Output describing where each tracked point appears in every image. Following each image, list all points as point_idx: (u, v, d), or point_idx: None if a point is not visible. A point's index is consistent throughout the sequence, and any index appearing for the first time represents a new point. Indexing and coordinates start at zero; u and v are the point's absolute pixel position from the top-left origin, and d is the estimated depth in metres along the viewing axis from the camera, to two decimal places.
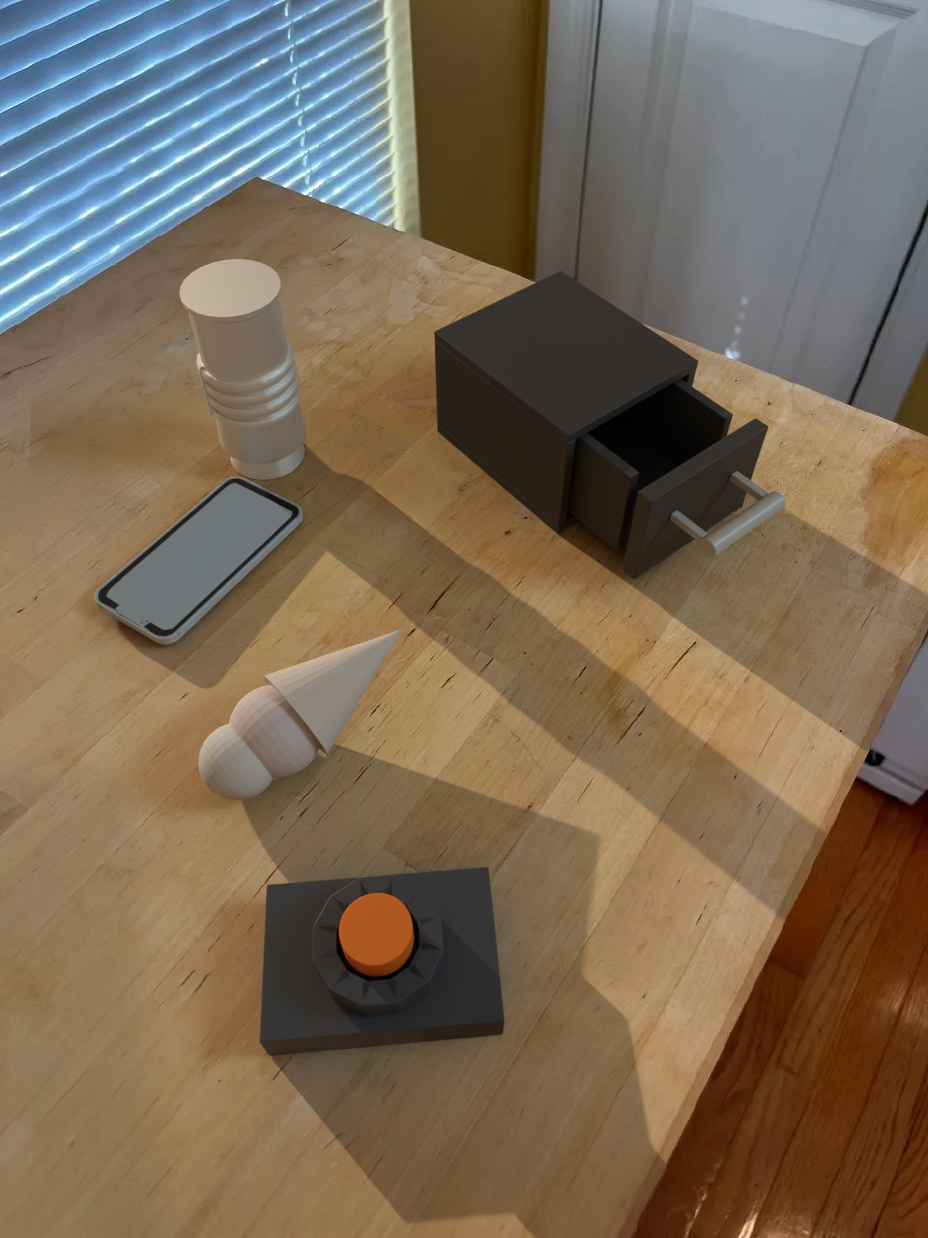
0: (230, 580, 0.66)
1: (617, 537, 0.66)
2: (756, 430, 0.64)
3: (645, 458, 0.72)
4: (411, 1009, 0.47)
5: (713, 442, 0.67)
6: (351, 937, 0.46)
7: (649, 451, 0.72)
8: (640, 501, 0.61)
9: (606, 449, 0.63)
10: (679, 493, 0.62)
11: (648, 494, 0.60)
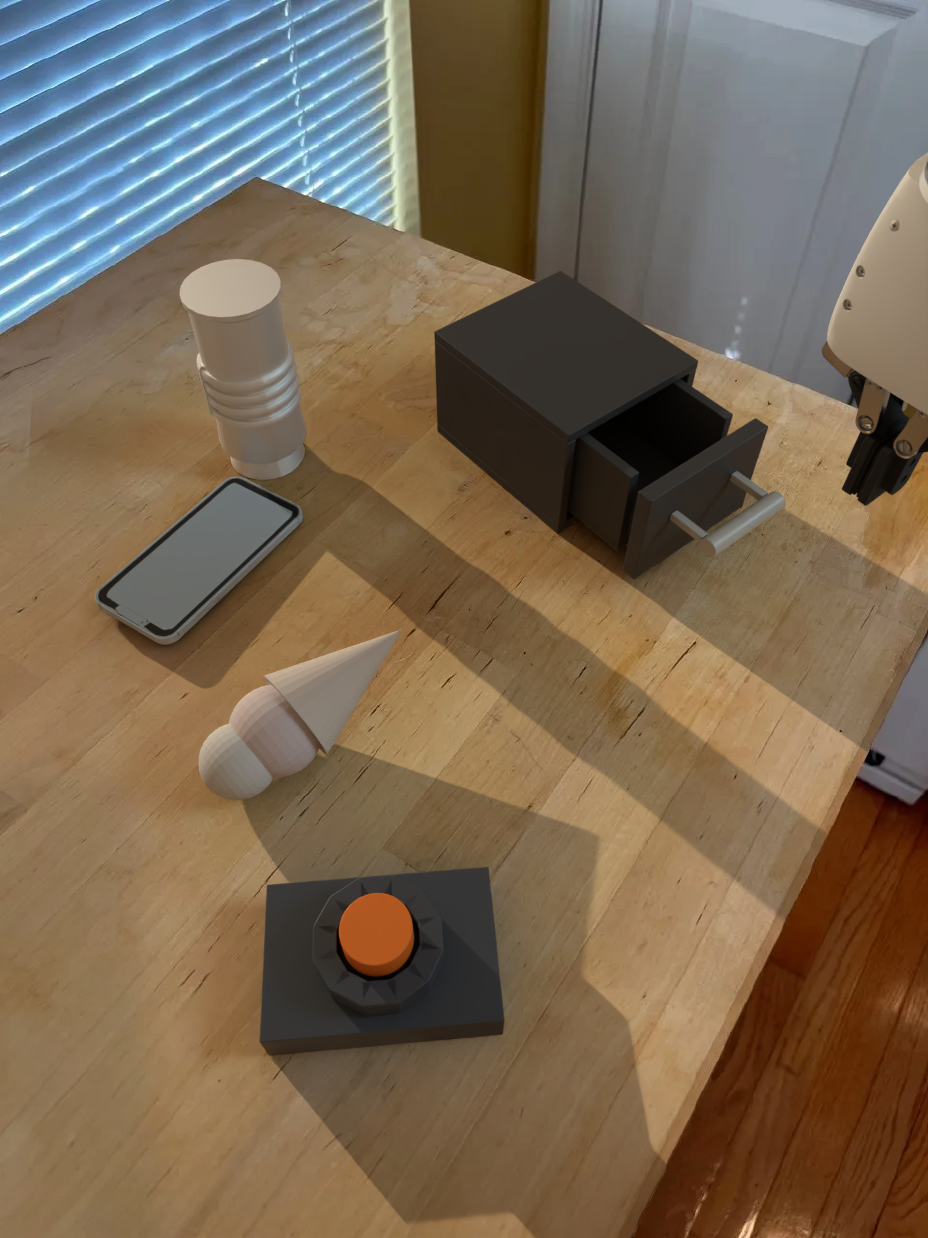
0: (230, 580, 0.66)
1: (617, 537, 0.66)
2: (756, 430, 0.64)
3: (645, 458, 0.72)
4: (411, 1009, 0.47)
5: (713, 442, 0.67)
6: (351, 937, 0.46)
7: (649, 451, 0.72)
8: (640, 501, 0.61)
9: (606, 449, 0.63)
10: (679, 493, 0.62)
11: (648, 494, 0.60)
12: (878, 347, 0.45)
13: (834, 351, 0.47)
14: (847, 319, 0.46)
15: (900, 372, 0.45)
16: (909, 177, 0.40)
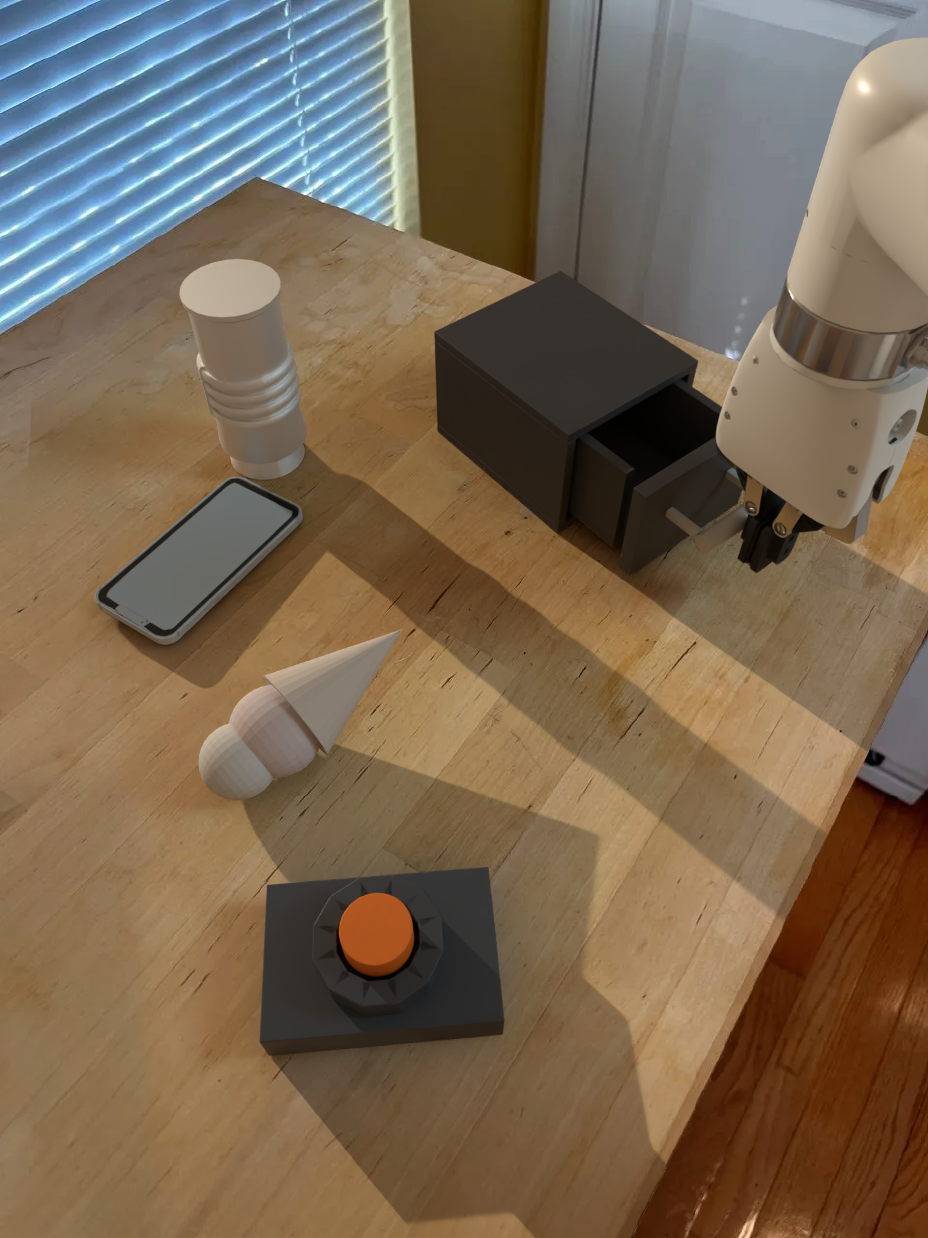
0: (230, 580, 0.66)
1: (613, 534, 0.66)
2: None
3: (641, 455, 0.72)
4: (411, 1009, 0.47)
5: (709, 439, 0.67)
6: (351, 937, 0.46)
7: (645, 449, 0.72)
8: (635, 497, 0.61)
9: (602, 446, 0.63)
10: (675, 489, 0.62)
11: (643, 490, 0.60)
12: (752, 451, 0.55)
13: (721, 450, 0.58)
14: (728, 427, 0.56)
15: (770, 471, 0.55)
16: (763, 325, 0.50)
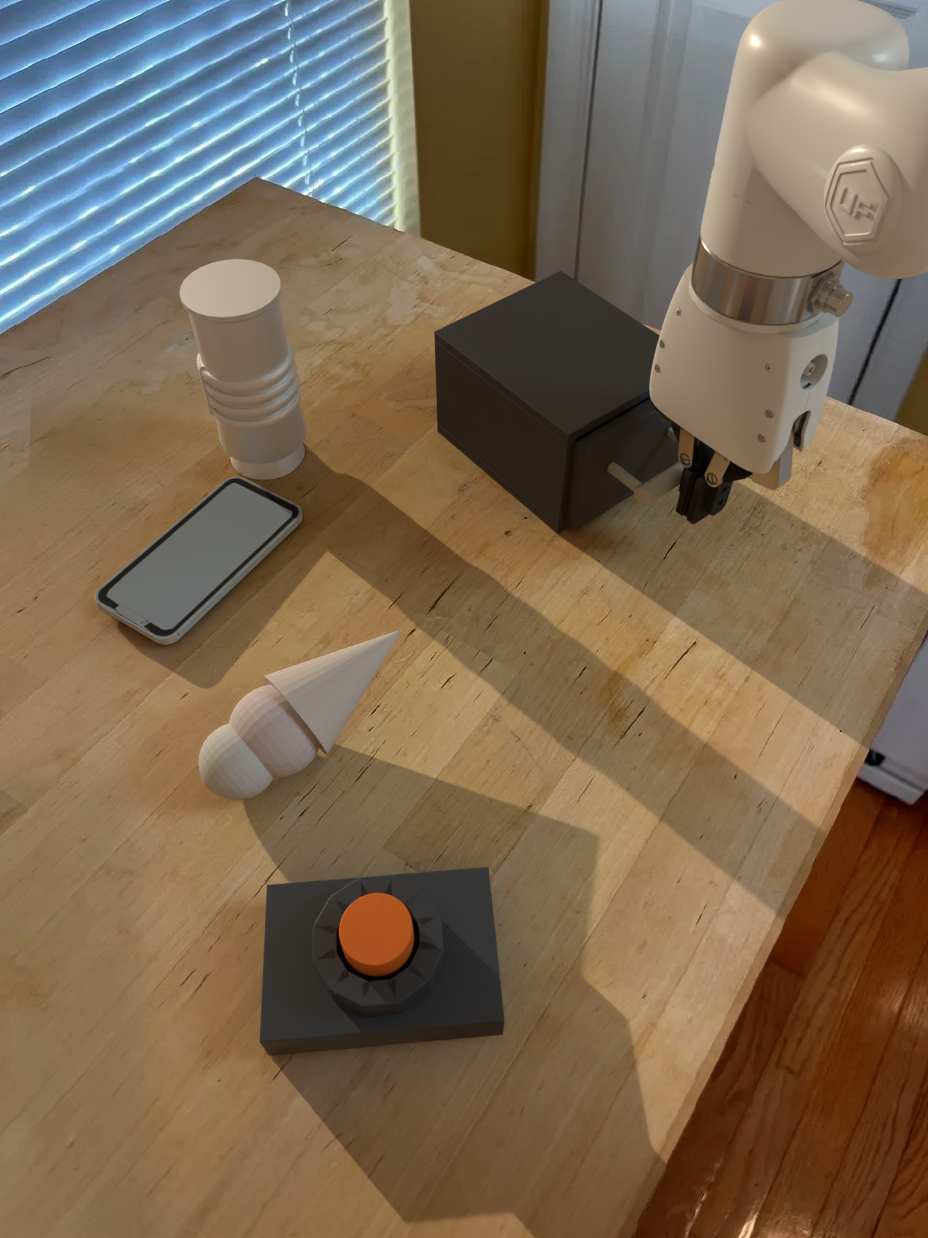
0: (230, 580, 0.66)
1: None
2: None
3: None
4: (411, 1009, 0.47)
5: None
6: (351, 937, 0.46)
7: None
8: (576, 451, 0.63)
9: None
10: (615, 444, 0.64)
11: (583, 444, 0.63)
12: (681, 402, 0.58)
13: (654, 403, 0.60)
14: (659, 380, 0.59)
15: (697, 421, 0.58)
16: (683, 277, 0.53)
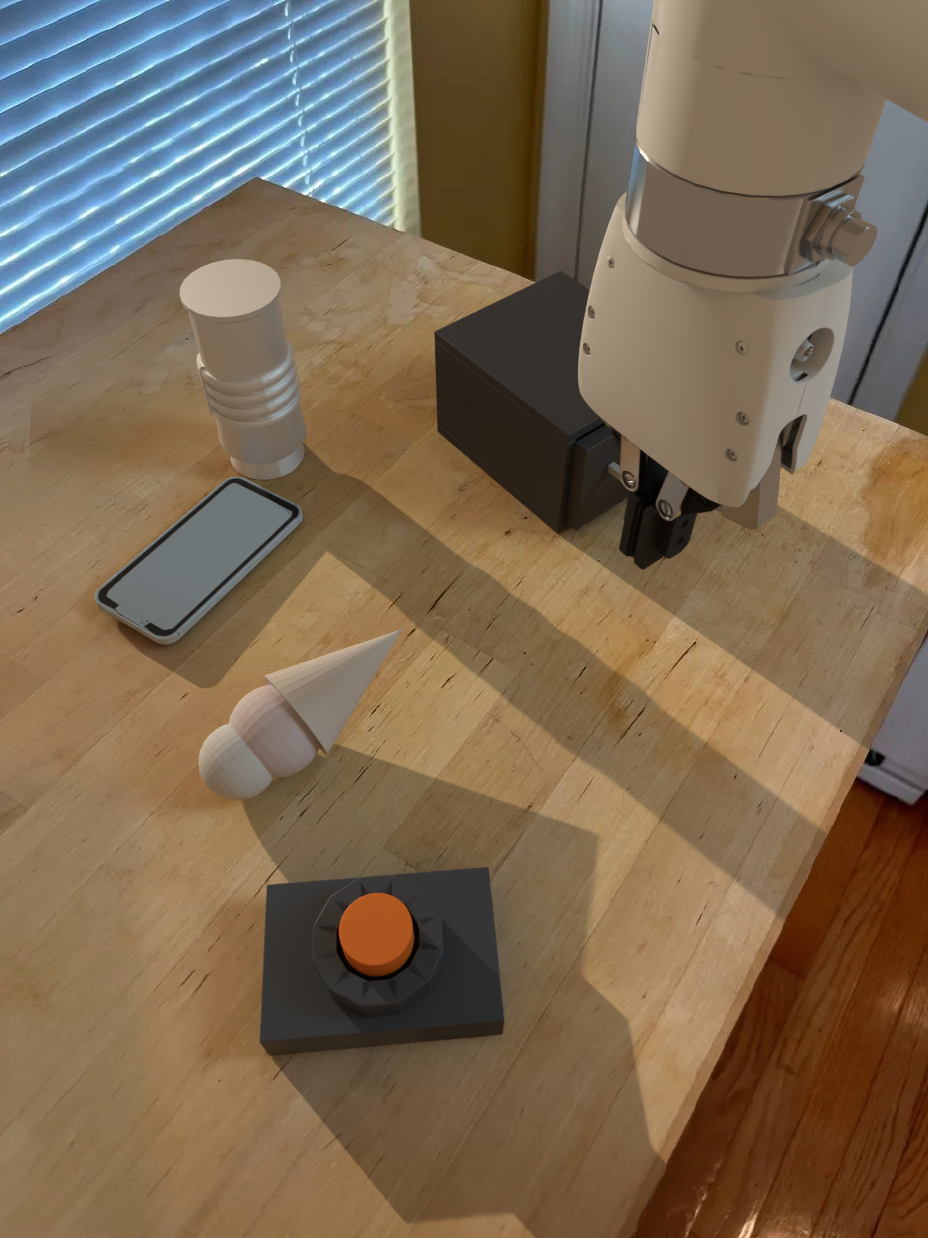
0: (230, 580, 0.66)
1: None
2: None
3: None
4: (411, 1009, 0.47)
5: None
6: (351, 937, 0.46)
7: None
8: (576, 451, 0.63)
9: None
10: (615, 444, 0.64)
11: (583, 444, 0.63)
12: (619, 397, 0.40)
13: (585, 399, 0.42)
14: (589, 365, 0.40)
15: (642, 426, 0.39)
16: (616, 207, 0.35)
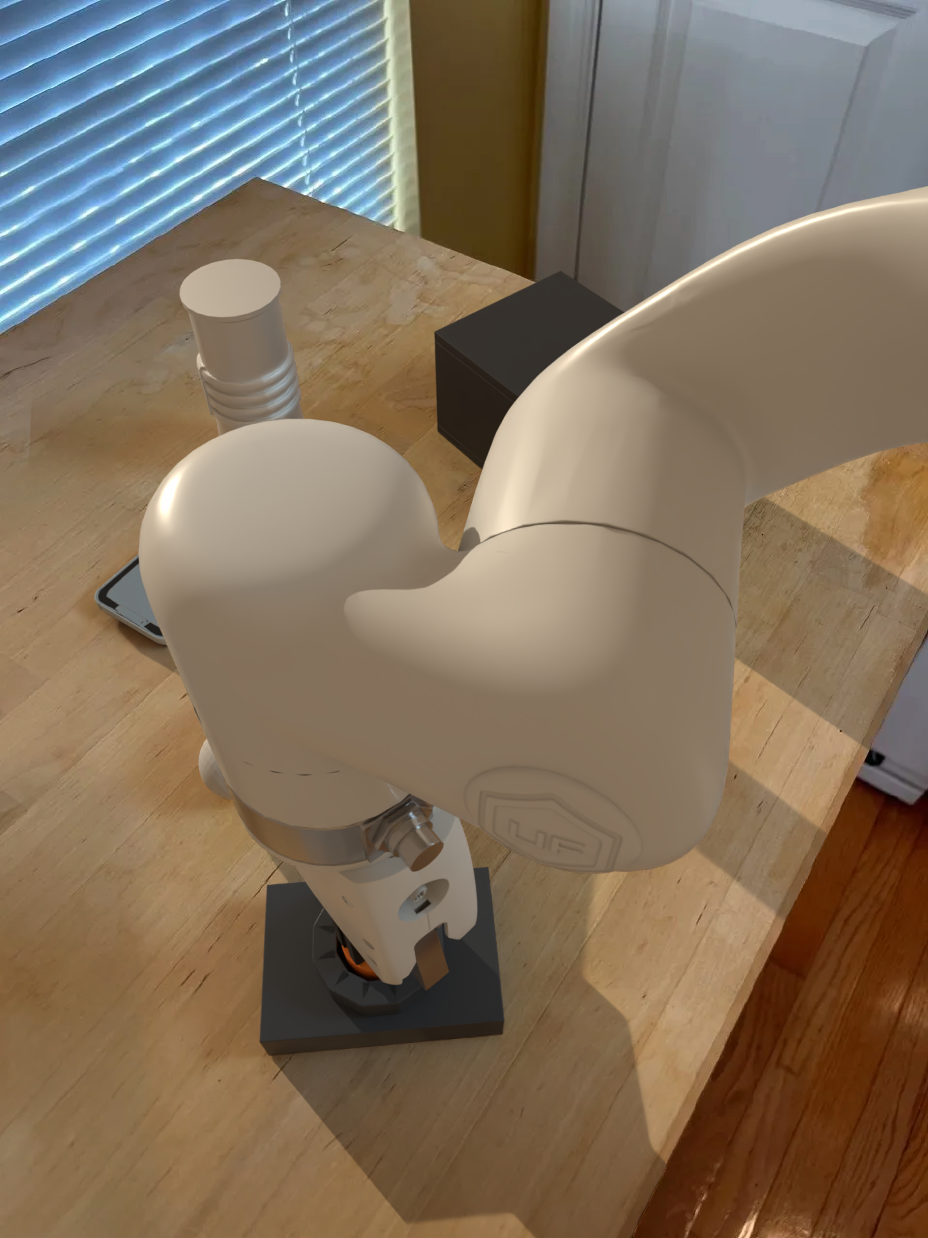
0: None
1: None
2: None
3: None
4: (411, 1009, 0.47)
5: None
6: None
7: None
8: None
9: None
10: None
11: None
12: None
13: None
14: None
15: None
16: None
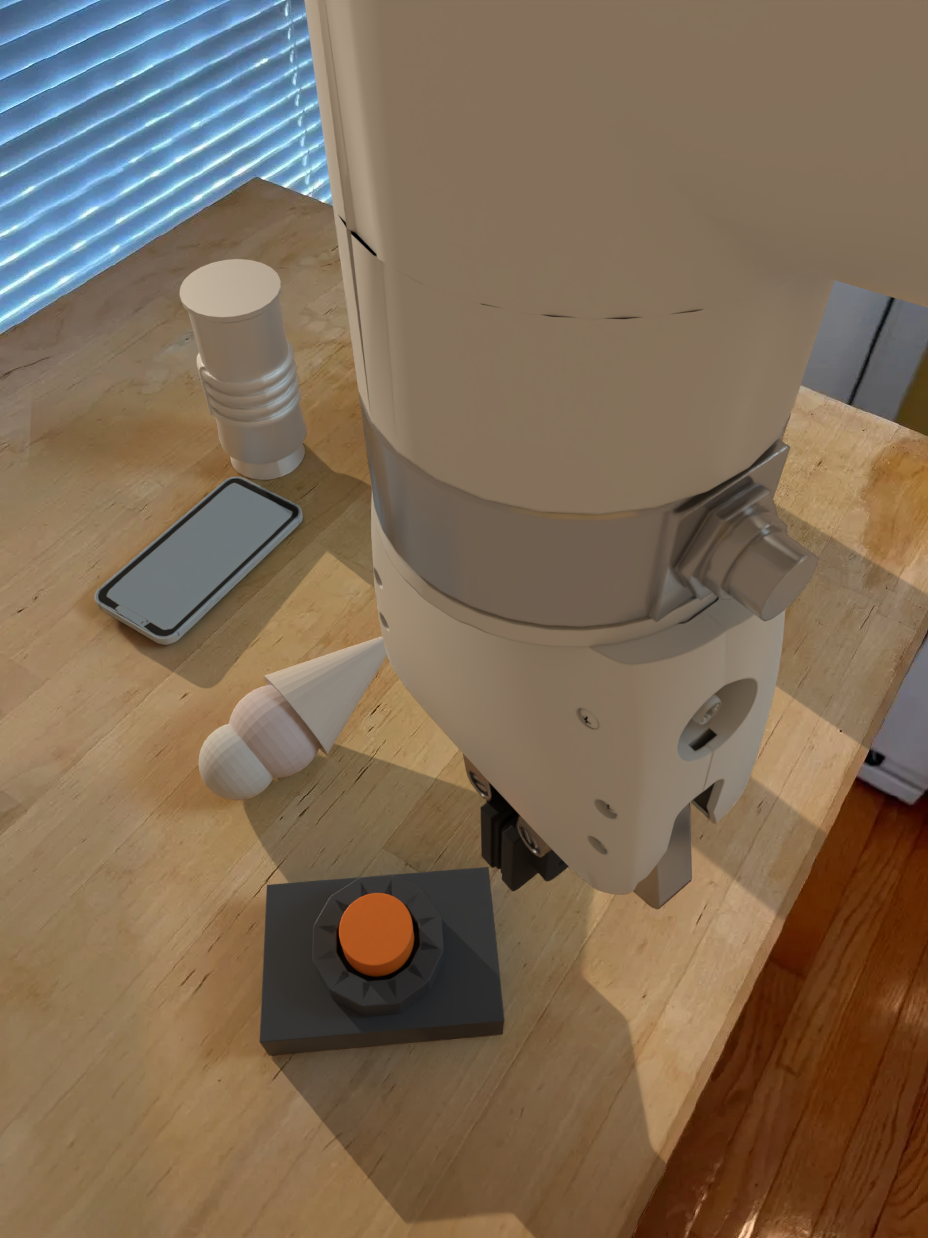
0: (230, 580, 0.66)
1: None
2: None
3: None
4: (411, 1009, 0.47)
5: None
6: (351, 937, 0.46)
7: None
8: None
9: None
10: None
11: None
12: (435, 701, 0.25)
13: (400, 678, 0.27)
14: (391, 643, 0.26)
15: (471, 750, 0.25)
16: None
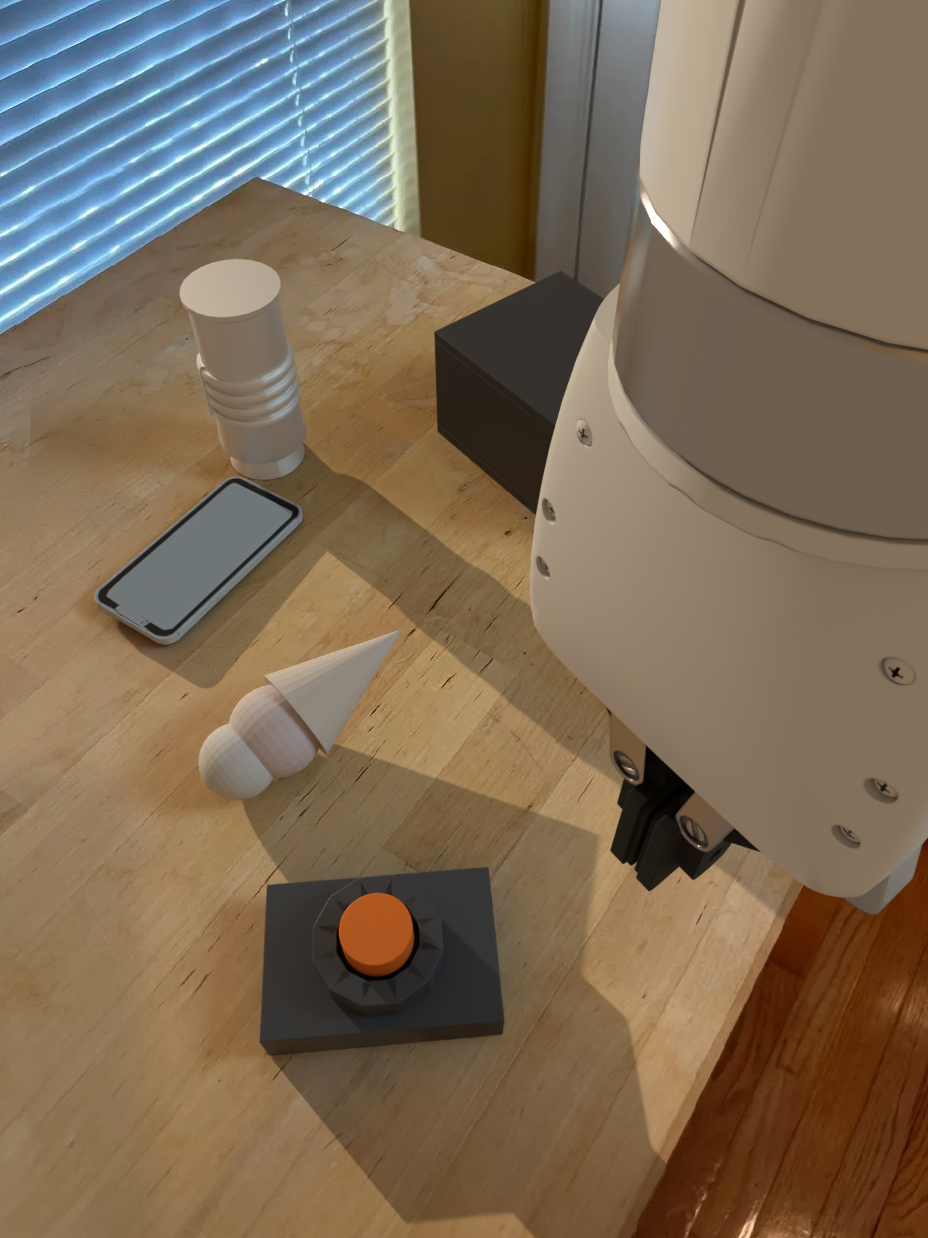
0: (230, 580, 0.66)
1: None
2: None
3: None
4: (411, 1009, 0.47)
5: None
6: (351, 937, 0.46)
7: None
8: None
9: None
10: None
11: None
12: (606, 664, 0.21)
13: (545, 640, 0.23)
14: (548, 594, 0.21)
15: (652, 722, 0.20)
16: (594, 328, 0.16)
